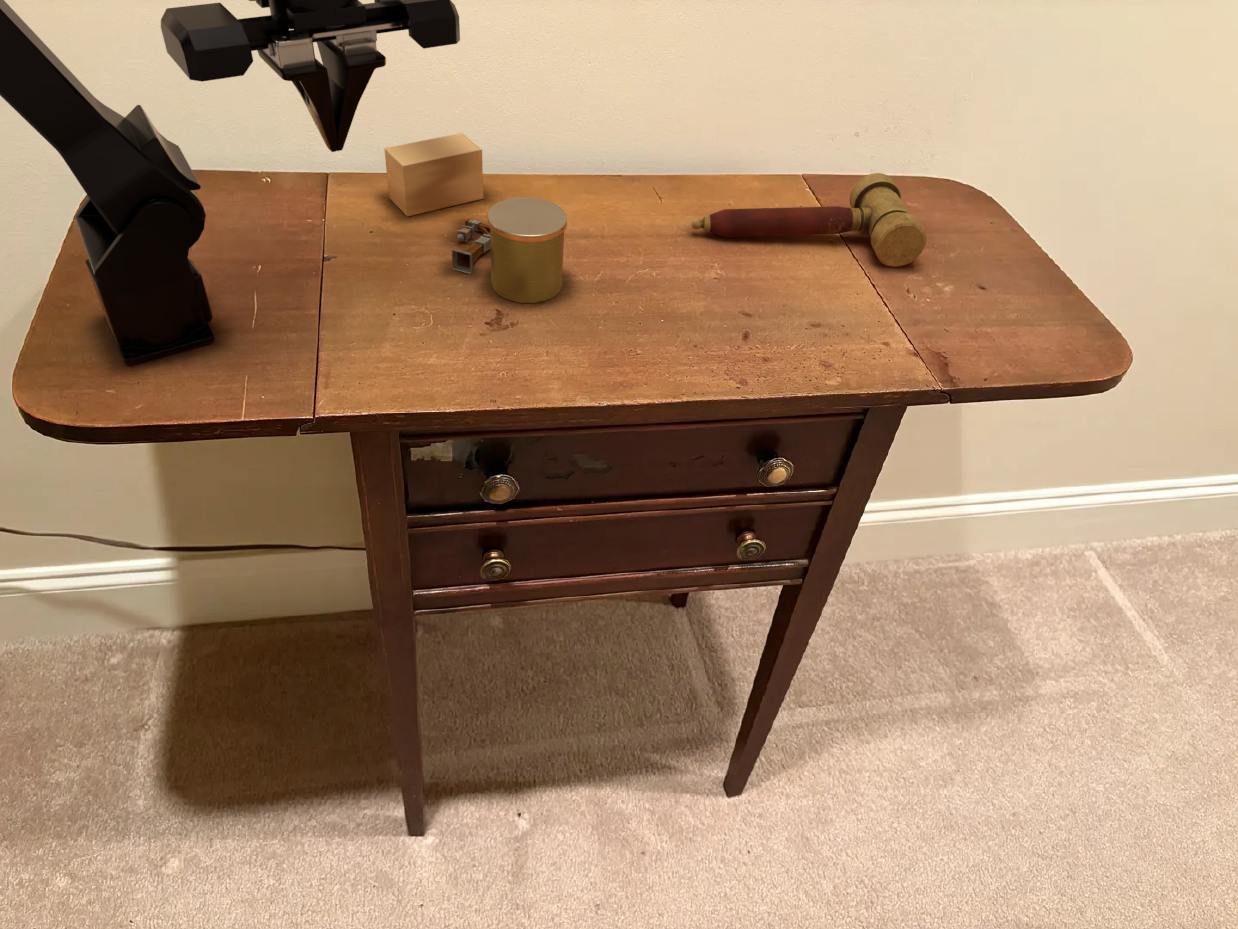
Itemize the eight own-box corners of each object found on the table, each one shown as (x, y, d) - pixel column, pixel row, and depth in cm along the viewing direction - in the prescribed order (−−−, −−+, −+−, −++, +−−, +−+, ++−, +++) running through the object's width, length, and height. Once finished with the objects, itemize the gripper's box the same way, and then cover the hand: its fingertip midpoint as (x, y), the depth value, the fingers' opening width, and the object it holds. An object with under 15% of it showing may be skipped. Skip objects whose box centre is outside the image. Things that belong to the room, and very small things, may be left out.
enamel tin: (512, 312, 75) (512, 242, 71) (475, 275, 79) (473, 206, 75) (578, 292, 78) (582, 224, 74) (539, 257, 82) (540, 190, 78)
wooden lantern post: (472, 227, 86) (515, 238, 85) (427, 261, 80) (472, 274, 79) (471, 208, 85) (515, 220, 84) (425, 242, 79) (472, 255, 78)
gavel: (700, 228, 81) (686, 176, 88) (696, 273, 84) (683, 219, 91) (932, 222, 82) (899, 171, 90) (920, 266, 85) (889, 214, 93)
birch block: (407, 216, 85) (402, 165, 82) (389, 198, 88) (383, 147, 84) (483, 198, 89) (482, 149, 86) (464, 181, 91) (462, 132, 88)
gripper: (386, -129, 66) (404, 89, 77) (107, -114, 58) (171, 129, 68) (458, -90, 60) (467, 142, 70) (157, -67, 51) (219, 193, 62)
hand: (334, 149), depth 68 cm, fingers closed
